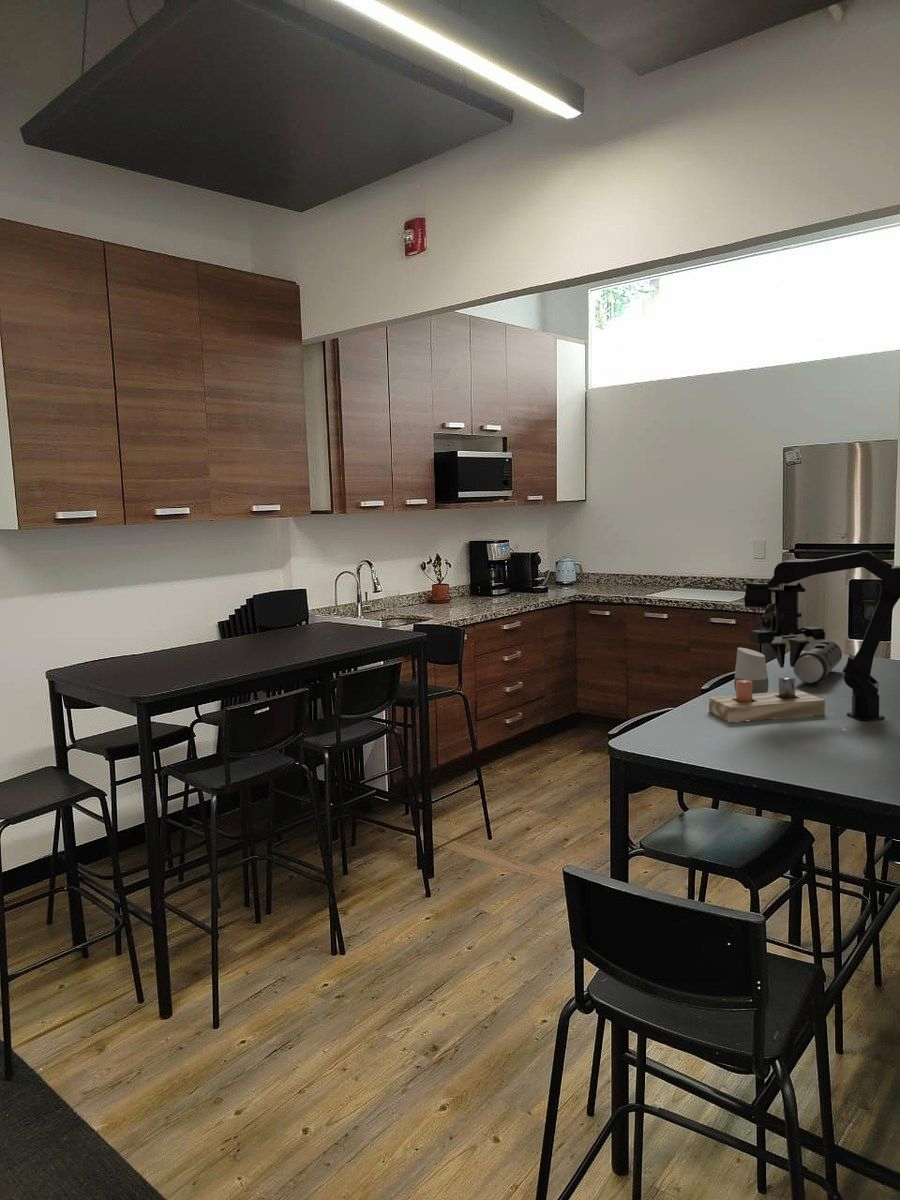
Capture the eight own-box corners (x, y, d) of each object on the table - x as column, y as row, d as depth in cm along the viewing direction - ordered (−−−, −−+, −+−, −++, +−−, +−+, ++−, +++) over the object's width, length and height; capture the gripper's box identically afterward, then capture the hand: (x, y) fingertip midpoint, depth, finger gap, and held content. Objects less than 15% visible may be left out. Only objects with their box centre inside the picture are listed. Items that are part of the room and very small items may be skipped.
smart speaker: (769, 700, 229) (768, 651, 227) (734, 699, 232) (734, 651, 230) (767, 692, 238) (767, 645, 236) (734, 692, 241) (733, 645, 239)
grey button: (798, 699, 214) (798, 679, 213) (783, 700, 213) (783, 680, 213) (789, 696, 218) (789, 676, 217) (775, 697, 217) (775, 677, 217)
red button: (755, 703, 212) (755, 682, 212) (740, 704, 212) (740, 683, 211) (747, 699, 216) (747, 679, 216) (733, 700, 216) (733, 680, 215)
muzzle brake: (843, 671, 262) (843, 640, 261) (825, 689, 239) (825, 654, 238) (811, 669, 267) (811, 638, 266) (791, 686, 245) (791, 652, 244)
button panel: (824, 714, 211) (824, 699, 210) (730, 722, 208) (729, 707, 207) (799, 704, 223) (799, 690, 222) (709, 711, 219) (708, 697, 219)
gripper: (802, 603, 222) (802, 659, 224) (738, 607, 220) (738, 664, 221) (826, 607, 211) (826, 666, 213) (759, 612, 209) (759, 671, 210)
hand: (786, 667), depth 215 cm, fingers open, 3 cm apart
